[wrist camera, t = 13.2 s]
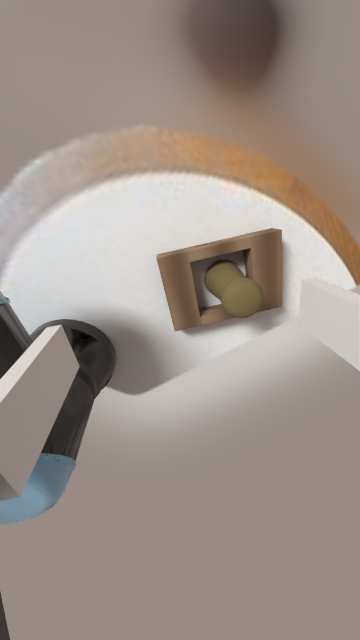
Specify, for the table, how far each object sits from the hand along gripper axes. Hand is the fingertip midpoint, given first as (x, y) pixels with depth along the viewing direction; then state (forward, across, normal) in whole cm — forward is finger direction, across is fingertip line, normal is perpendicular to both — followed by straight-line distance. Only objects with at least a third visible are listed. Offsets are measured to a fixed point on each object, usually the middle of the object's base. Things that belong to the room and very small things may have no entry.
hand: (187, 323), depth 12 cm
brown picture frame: (+24, +8, -6) cm, 26 cm away
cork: (+24, +9, -6) cm, 26 cm away
